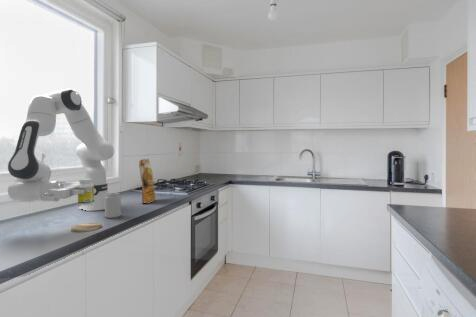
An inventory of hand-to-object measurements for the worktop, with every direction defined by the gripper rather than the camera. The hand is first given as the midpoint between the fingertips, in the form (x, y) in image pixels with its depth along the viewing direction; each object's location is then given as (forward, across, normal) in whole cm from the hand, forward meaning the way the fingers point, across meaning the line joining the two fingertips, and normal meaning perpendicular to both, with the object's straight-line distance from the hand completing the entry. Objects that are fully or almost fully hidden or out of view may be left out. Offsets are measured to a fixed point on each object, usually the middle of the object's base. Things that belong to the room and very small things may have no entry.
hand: (88, 190), depth 121 cm
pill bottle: (-1, 0, +6) cm, 6 cm away
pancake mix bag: (+17, +56, +17) cm, 61 cm away
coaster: (-1, 0, +17) cm, 17 cm away
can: (+5, +19, +17) cm, 26 cm away
